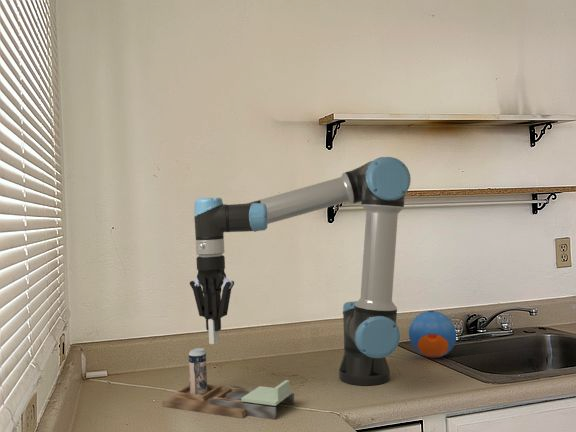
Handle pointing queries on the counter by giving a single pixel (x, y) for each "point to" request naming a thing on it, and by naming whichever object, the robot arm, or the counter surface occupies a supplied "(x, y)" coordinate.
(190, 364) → the beer can
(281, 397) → the lid
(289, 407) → the counter surface
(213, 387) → the housing
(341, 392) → the counter surface
